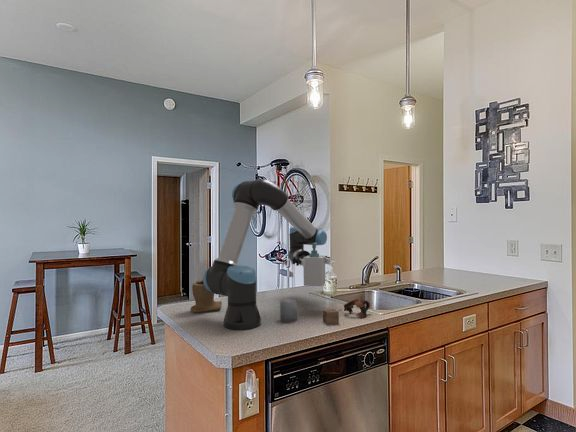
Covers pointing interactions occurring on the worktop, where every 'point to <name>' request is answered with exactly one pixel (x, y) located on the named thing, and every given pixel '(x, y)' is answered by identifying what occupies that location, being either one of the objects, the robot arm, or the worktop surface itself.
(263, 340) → the worktop surface
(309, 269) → the soap bottle
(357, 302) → the brown arched figurine
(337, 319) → the walnut block
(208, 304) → the brown boot
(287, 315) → the slate grey tub
